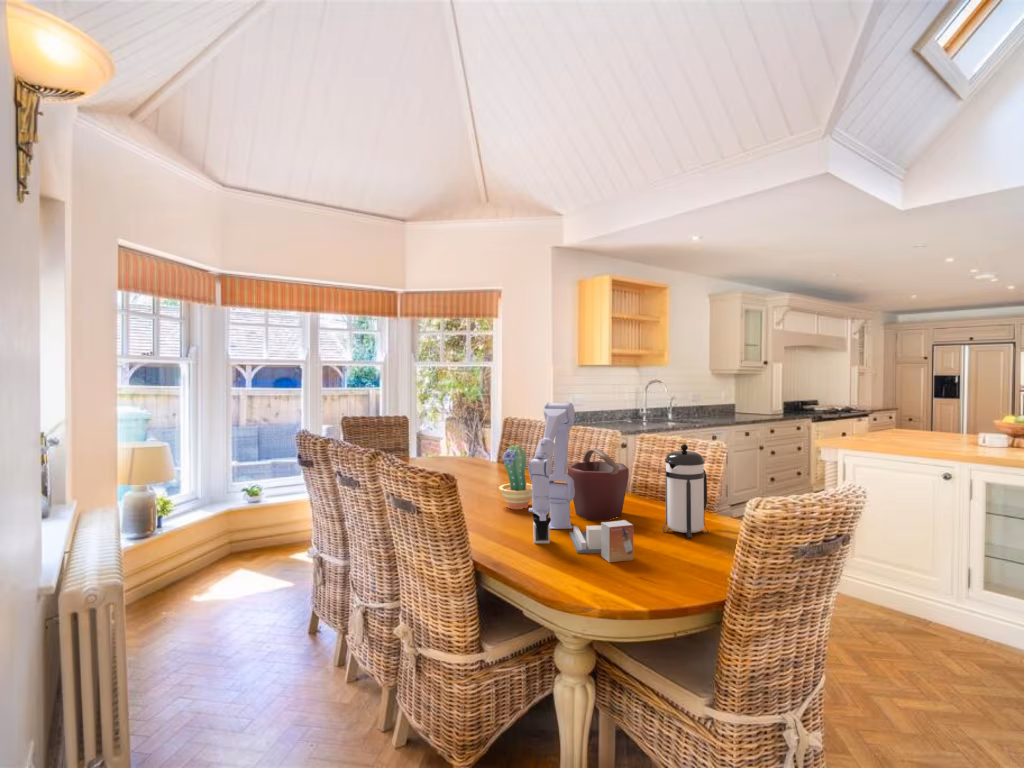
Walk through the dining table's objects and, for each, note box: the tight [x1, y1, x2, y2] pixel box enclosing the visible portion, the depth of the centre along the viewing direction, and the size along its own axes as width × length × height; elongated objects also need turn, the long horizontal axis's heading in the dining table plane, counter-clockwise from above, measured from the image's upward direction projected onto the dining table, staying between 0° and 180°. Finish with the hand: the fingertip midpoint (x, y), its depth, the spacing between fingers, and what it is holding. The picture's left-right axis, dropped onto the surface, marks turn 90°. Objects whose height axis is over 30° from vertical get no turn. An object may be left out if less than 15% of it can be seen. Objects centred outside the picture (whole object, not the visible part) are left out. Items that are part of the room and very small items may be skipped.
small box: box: [600, 519, 634, 563], centre depth 155 cm, size 8×6×10 cm
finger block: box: [532, 520, 551, 544], centre depth 172 cm, size 4×5×6 cm
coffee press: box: [661, 443, 709, 540], centre depth 179 cm, size 17×16×30 cm
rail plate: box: [569, 524, 601, 554], centre depth 169 cm, size 18×12×7 cm, turn 2°
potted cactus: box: [498, 444, 532, 510], centre depth 215 cm, size 15×15×25 cm
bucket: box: [567, 448, 630, 521], centre depth 201 cm, size 24×22×25 cm
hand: (541, 536), depth 172 cm, fingers closed on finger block, 4 cm apart
